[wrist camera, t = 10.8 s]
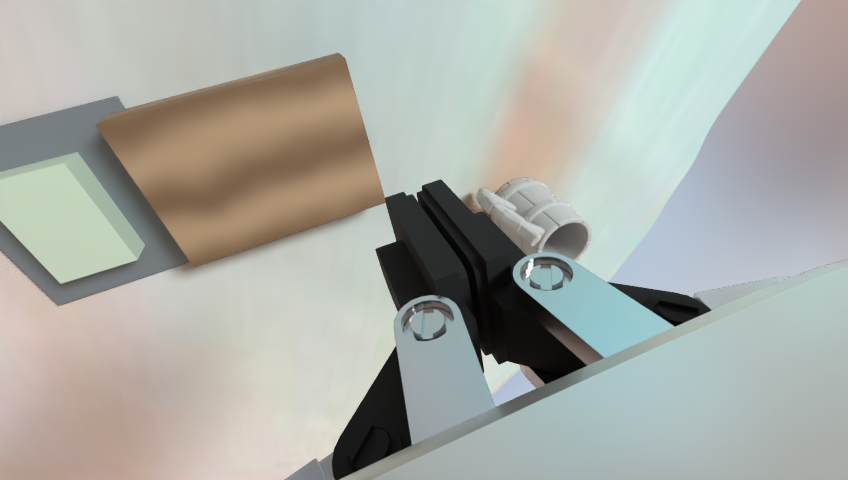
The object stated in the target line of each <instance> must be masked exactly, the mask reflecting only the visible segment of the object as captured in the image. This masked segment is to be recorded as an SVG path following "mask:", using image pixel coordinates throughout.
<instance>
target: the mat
mask: <svg viewBox="0 0 848 480" xmlns="http://www.w3.org/2000/svg"><path fill="white" fill-rule="evenodd" d="M123 110H125V108H124V106H123V105H122V103H121V102H120V100H119V98H118V97H117V96H115V97H111V98H107V99H104V100H100V101H96V102H92V103H88V104H84V105H80V106H76V107H72V108H69V109H65V110H61V111H57V112H53V113H49V114H45V115H41V116H38V117H34V118H30V119H26V120H22V121H18V122H14V123H10V124H6V125H3V126H0V172H2V171H6V170H9V169H13V168H17V167H21V166H25V165H29V164H33V163H37V162H41V161H44V160H48V159H52V158H56V157H60V156H64V155H68V154H72V153H76V152H78V153H79V155H80V156H81V157H82V159H83V160H84V162H85V163H86V164H87V166H88V167H89V168H90V170H91V171H92V173H93V174H94V175H95V177H96V178H97V179H98V181H99V182H100V184H101V185H102V186H103V188H104V189H105V190H106V192H107V193H108V195H109V196H110V197H111V199H112V200H113V201H114V203H115V204H116V206H117V207H118V208H119V210H120V211H121V212H122V214H123V215H124V217H125V218H126V219H127V221H128V222H129V223H130V225H131V226H132V228H133V229H134V230H135V232H136V233H137V234H138V236H139V237H140V239H141V240H142V241H143V243H144V244H145V246H144V248H143V250H142V252H141V254H140V256H139V258H138V260H136V261H133V262H130V263H126V264H123V265H120V266H117V267H113V268H110V269H107V270H104V271H101V272H97V273H94V274H91V275H88V276H84V277H81V278H78V279H75V280H71V281H68V282H65V283H62V284H60V283H59V282H58V281H57V280H56V279H55V277H54V276H53V275H52V274H51V273H50V272H49V271H48V270H47V269H46V268H45V267H44V266H43V265H42V264H41V263H40V262H39V261H38V260H37V259H36V258H35V256H34V255H33V254H32V253H31V252H30V251H29V250H28V249H27V248H26V247H25V246H24V245H23V244H22V243H21V242H20V241H19V240H18V239H17V238H16V237H15V235H14V234H13V233H12V232H11V231H10V230H9V229H8V228H7V227H6V226H5V225H4V224H3V223H2V222H1V221H0V250H1V251H2V252H3V253H4V254H5V255H6V256H7V257H8V258H10V259H11V260H12V261H13V262H14V263H15V264H16V265H17V266H18V267H19V268H20V269H21V270H22V271H23V272H24V273H25V274H26V275H27V276H28V277H29V278H30V279H31V280H32V281H33V282H34V283H35V284H36V285H38V286H39V287H40V288H41V289H42V290H43V291H44V292H45V293H46V294H47V295H48V296H49V297H50V298H51V299H52V300H53V301H54V302H55V303H56V304H57V305H58V306H59V305H62V304H65V303H68V302H71V301H74V300H77V299H80V298H83V297H86V296H89V295H92V294H95V293H98V292H101V291H104V290H107V289H110V288H113V287H116V286H119V285H122V284H125V283H128V282H131V281H134V280H137V279H140V278H143V277H146V276H149V275H152V274H155V273H158V272H161V271H164V270H167V269H170V268H173V267H176V266H179V265H182V264H185V263H188V262H190V261H189V259H188V258H187V256H186V255H185V254H184V252H183V251H182V249H181V248H180V246H179V245H178V244H177V242H176V241H175V239H174V238H173V236H172V235H171V233H170V232H169V231H168V229H167V228H166V226H165V225H164V223H163V222H162V221H161V219H160V218H159V216H158V215H157V213H156V212H155V210H154V209H153V208H152V206H151V205H150V203H149V202H148V200H147V199H146V197H145V196H144V195H143V193H142V192H141V190H140V189H139V187H138V186H137V185H136V183H135V182H134V180H133V179H132V177H131V176H130V174H129V173H128V172H127V170H126V169H125V167H124V166H123V164H122V163H121V161H120V160H119V159H118V157H117V156H116V154H115V153H114V151H113V150H112V149H111V147H110V146H109V144H108V143H107V141H106V140H105V138H104V137H103V136H102V134H101V133H100V131H99V130H98V128H97V127H96V124H97V123H98V122H100V121H101V120H102V119H104V118H105V117H107V116H108V115H109V114H112V113H116V112H120V111H123Z"/></svg>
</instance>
